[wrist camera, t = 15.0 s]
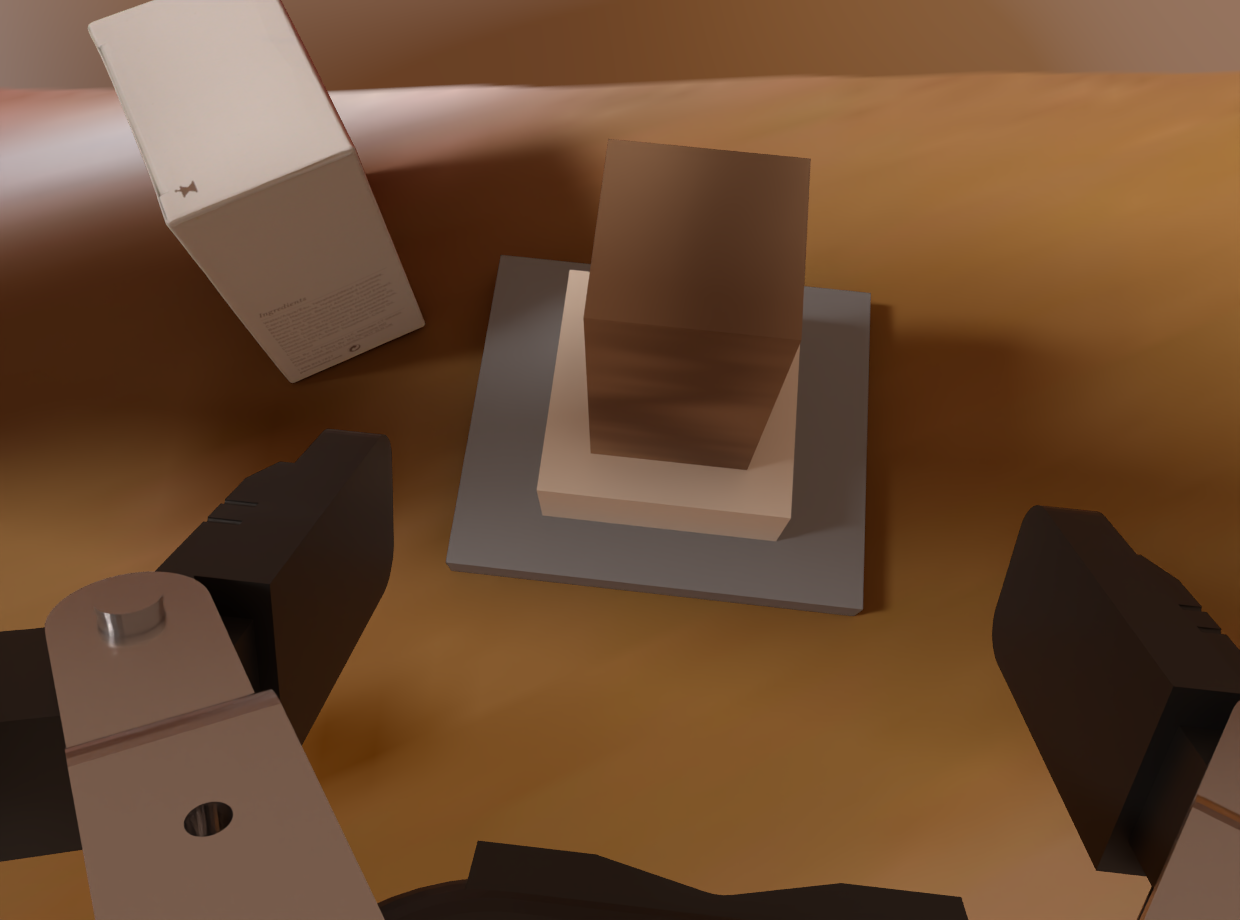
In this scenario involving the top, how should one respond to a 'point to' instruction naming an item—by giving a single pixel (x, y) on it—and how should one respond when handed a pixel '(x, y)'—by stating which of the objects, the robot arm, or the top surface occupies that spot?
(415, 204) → the top surface
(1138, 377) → the top surface
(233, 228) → the small box
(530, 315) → the plate
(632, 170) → the walnut block
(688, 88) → the top surface
